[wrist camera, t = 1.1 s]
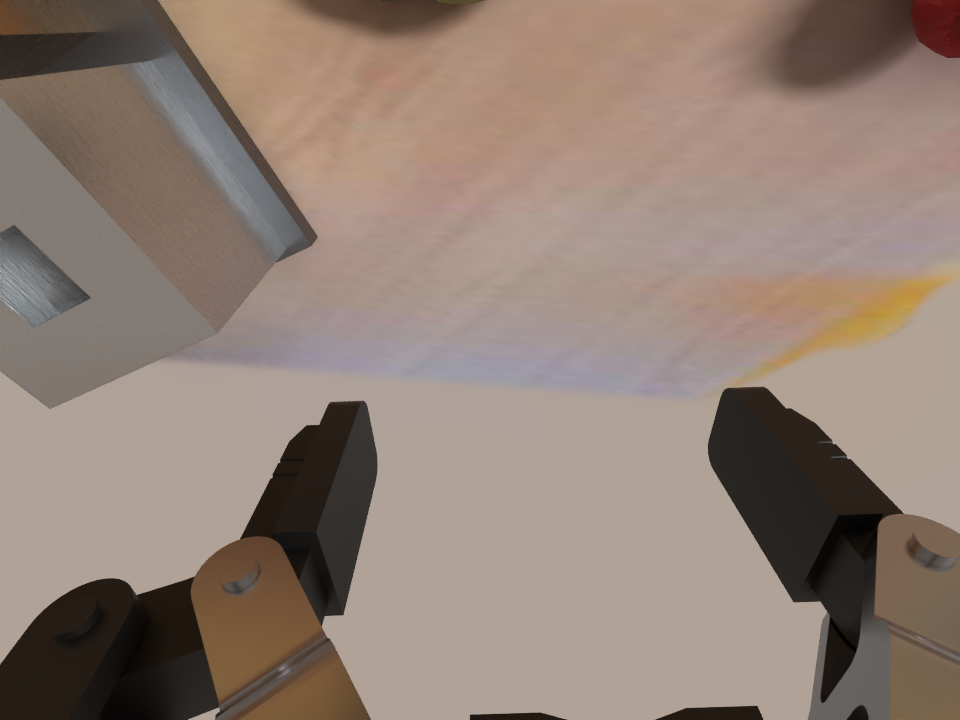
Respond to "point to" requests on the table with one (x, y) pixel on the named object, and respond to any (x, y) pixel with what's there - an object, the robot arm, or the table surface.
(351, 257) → the table surface
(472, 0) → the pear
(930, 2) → the onion
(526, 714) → the robot arm
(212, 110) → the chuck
